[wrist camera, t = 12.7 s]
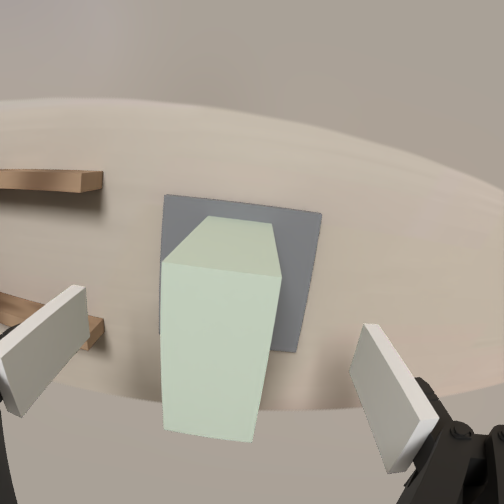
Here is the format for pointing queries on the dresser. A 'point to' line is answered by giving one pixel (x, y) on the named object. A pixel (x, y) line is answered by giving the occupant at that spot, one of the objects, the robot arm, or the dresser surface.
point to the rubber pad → (287, 243)
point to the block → (218, 327)
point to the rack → (79, 181)
